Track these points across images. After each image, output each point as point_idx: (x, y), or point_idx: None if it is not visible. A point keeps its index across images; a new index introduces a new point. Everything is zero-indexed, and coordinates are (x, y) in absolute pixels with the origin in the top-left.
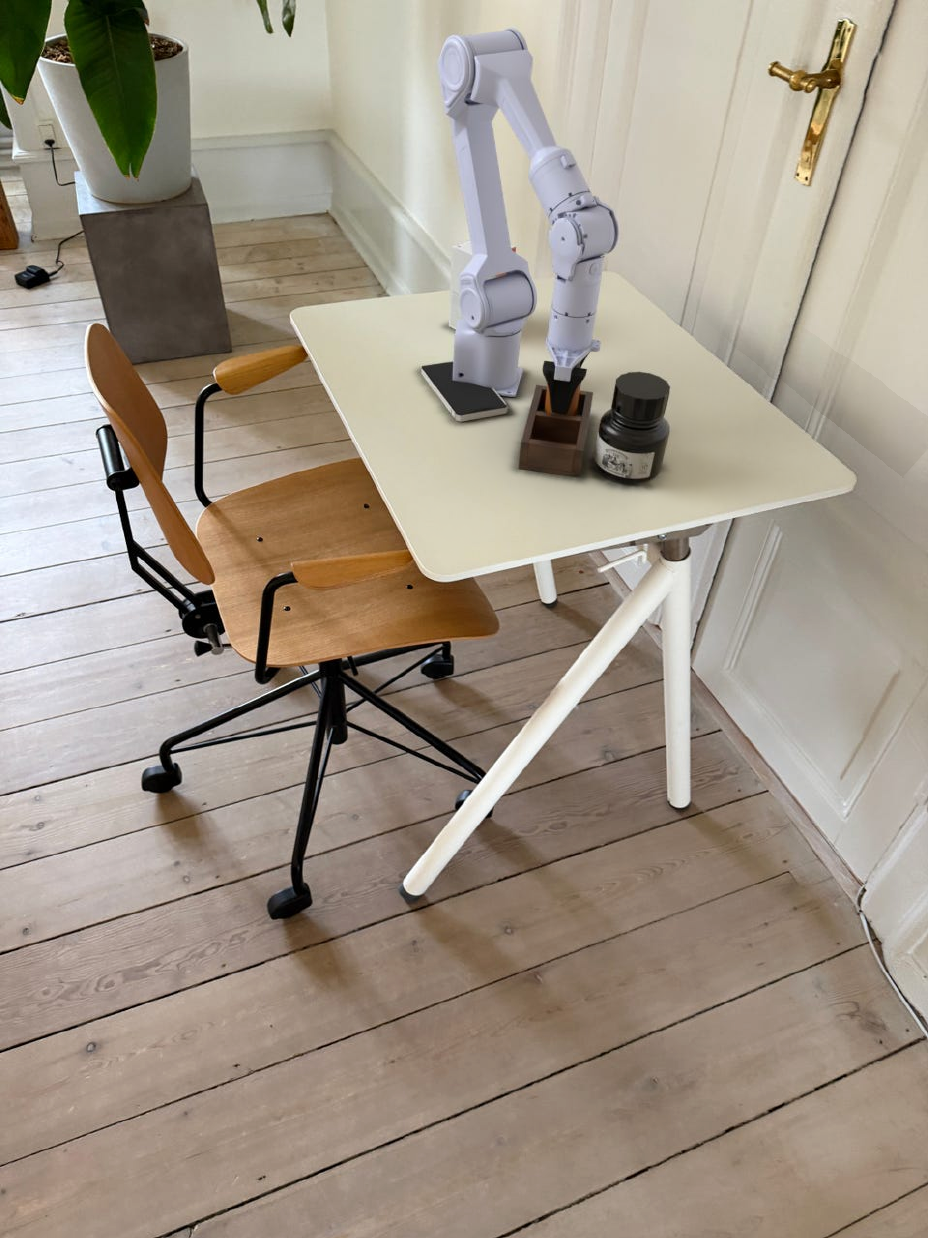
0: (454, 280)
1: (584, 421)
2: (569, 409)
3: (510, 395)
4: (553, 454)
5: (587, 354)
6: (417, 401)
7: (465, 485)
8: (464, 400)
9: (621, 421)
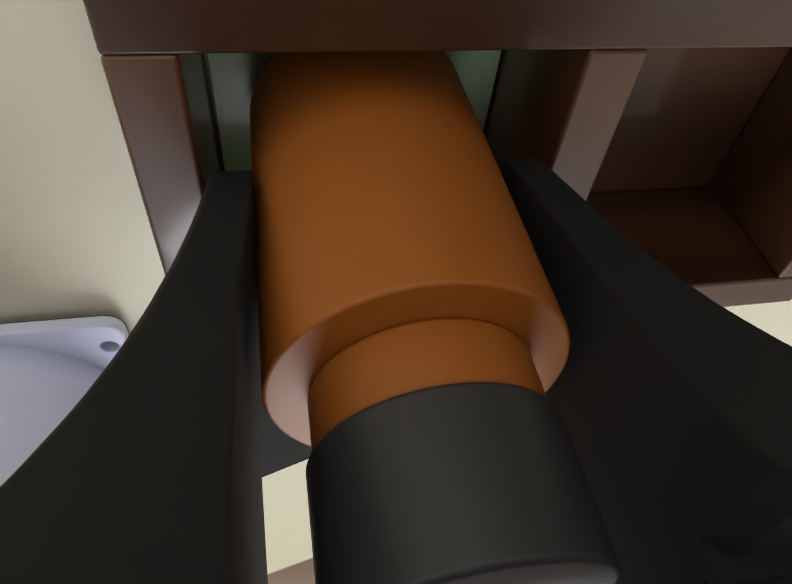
0: None
1: (666, 18)
2: (490, 154)
3: (126, 333)
4: None
5: (225, 519)
6: (293, 481)
7: (762, 307)
8: (283, 433)
9: None
